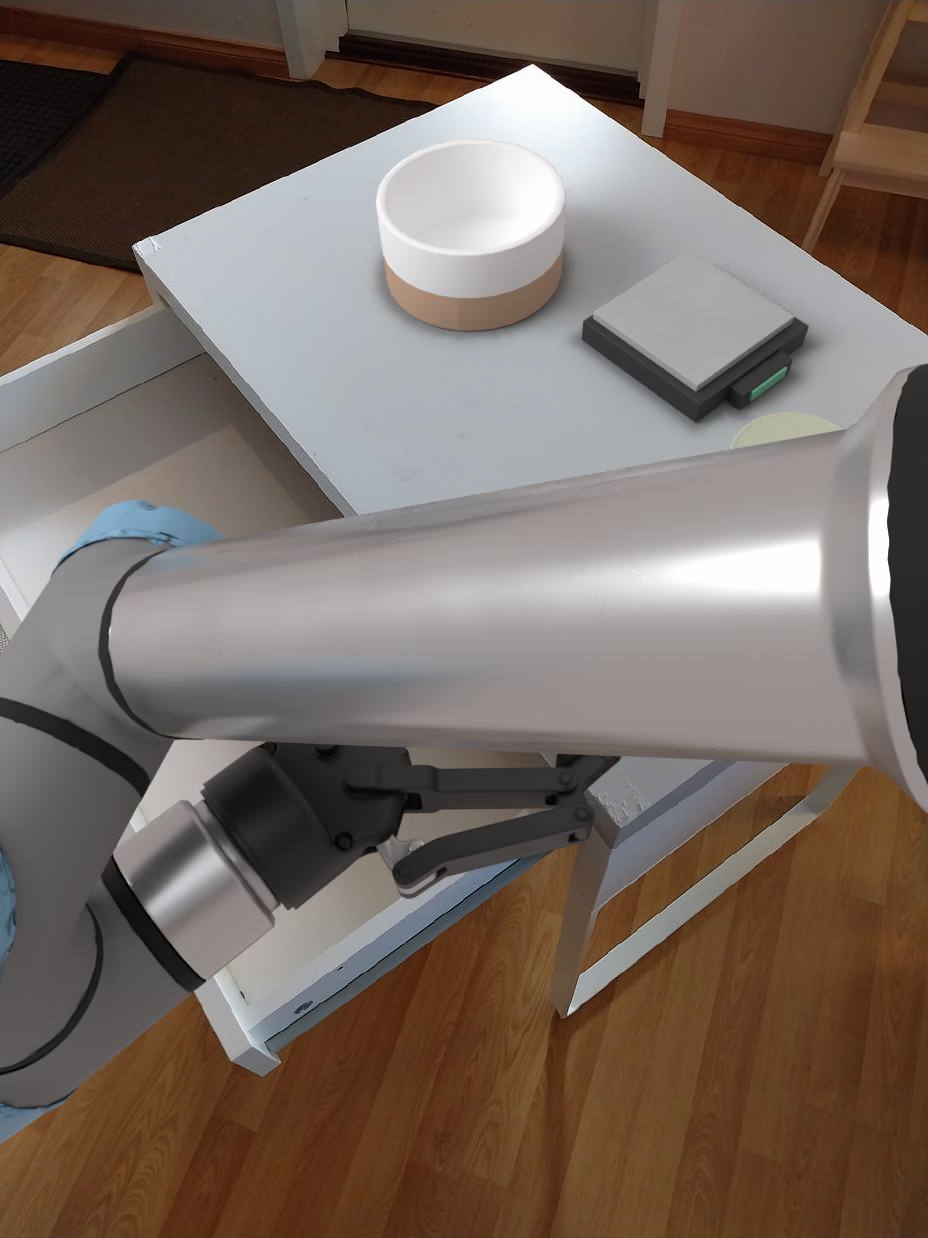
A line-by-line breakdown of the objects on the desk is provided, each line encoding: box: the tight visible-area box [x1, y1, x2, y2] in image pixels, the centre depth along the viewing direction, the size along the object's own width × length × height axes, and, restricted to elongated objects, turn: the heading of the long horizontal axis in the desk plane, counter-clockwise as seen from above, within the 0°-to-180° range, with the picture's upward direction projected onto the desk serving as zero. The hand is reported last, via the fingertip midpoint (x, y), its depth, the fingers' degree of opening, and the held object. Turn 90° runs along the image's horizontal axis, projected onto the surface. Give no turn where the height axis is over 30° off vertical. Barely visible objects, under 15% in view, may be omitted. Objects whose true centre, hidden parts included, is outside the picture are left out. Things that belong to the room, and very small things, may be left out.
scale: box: [581, 250, 810, 424], centre depth 83 cm, size 16×14×3 cm
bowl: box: [375, 138, 567, 332], centre depth 88 cm, size 17×17×8 cm
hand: (563, 605), depth 51 cm, fingers open, 13 cm apart
